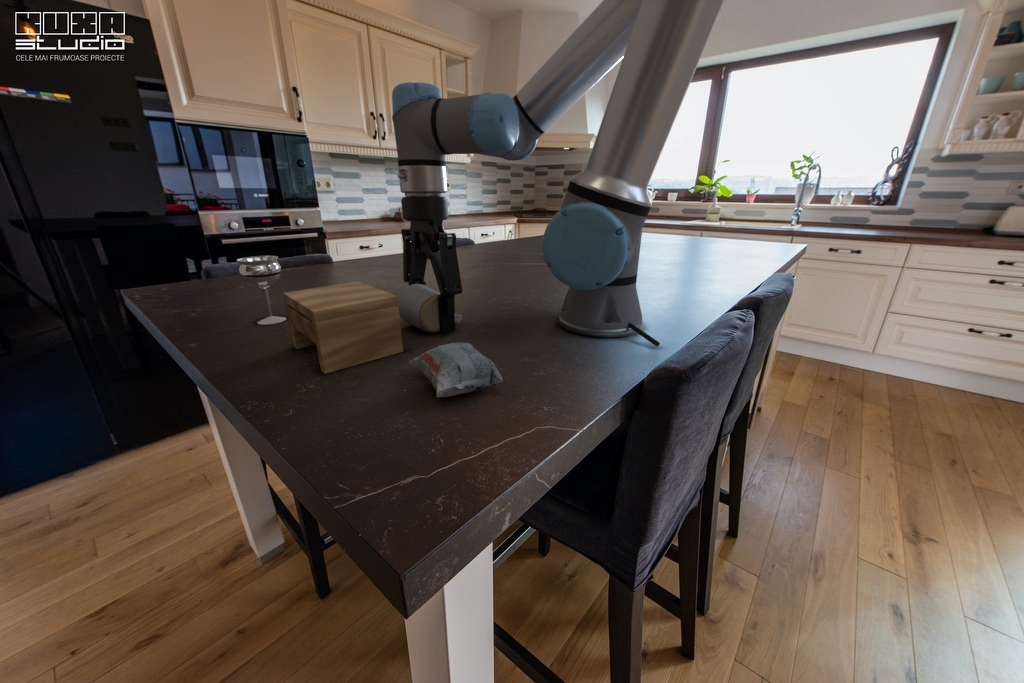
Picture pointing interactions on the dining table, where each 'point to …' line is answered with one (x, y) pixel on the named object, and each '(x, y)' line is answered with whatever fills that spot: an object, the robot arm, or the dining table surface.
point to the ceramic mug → (421, 308)
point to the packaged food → (457, 369)
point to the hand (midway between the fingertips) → (434, 325)
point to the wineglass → (261, 278)
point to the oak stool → (345, 323)
